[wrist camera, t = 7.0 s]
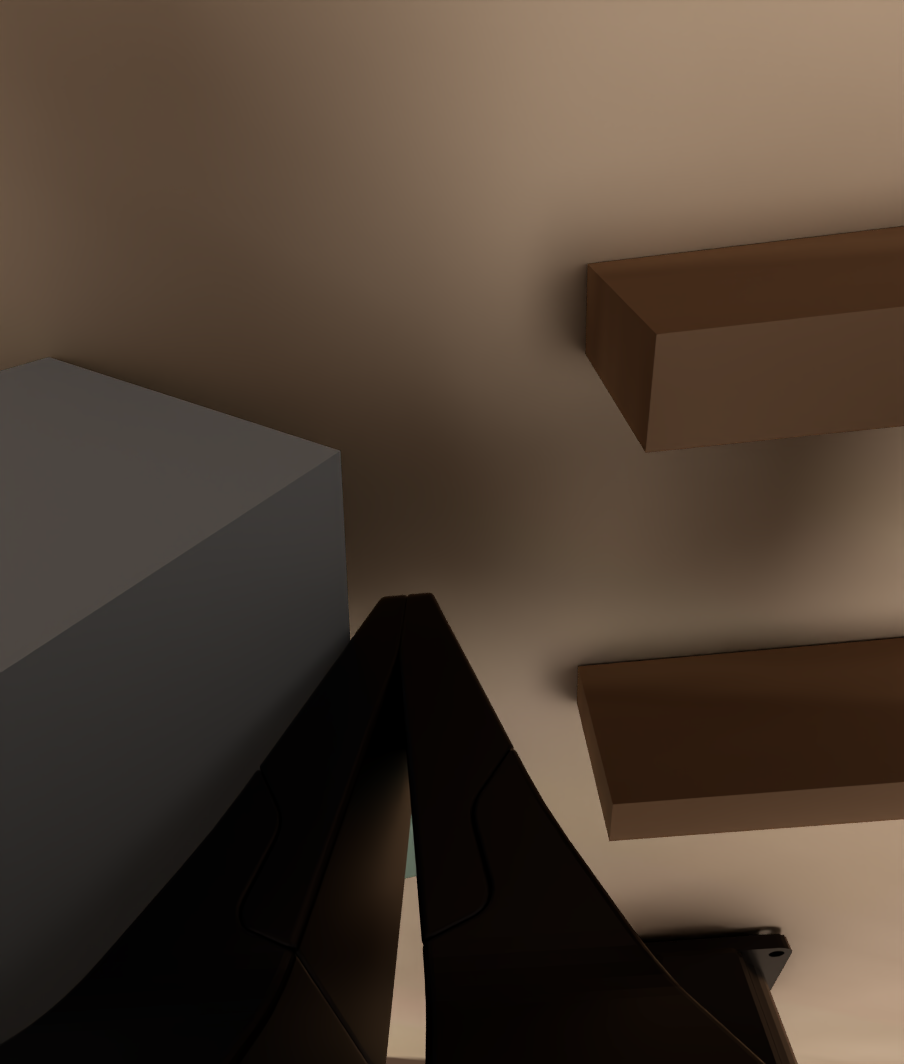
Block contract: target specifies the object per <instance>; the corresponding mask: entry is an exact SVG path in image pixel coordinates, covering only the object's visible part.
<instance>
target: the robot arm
mask: <svg viewBox="0 0 904 1064" xmlns="http://www.w3.org/2000/svg"><path fill="white" fill-rule="evenodd" d="M260 770H261V771H260ZM260 770H257V771H256V772H255V773H254V774H253V776H252V777H251V778H250V780H249V781H248V783H247V784H246V785H245V787H244V788H243V789H242V791H241V792H240V794H239V795H238V796H237V798H236V799H235V800H234V801H233V803H232V804H231V805H230V807H229V808H228V809H227V811H226V812H225V813H224V815H223V816H222V817H221V819H220V820H219V821H218V823H217V824H216V825H215V826H214V828H213V829H212V830H211V831H210V833H209V834H208V835H207V836H206V837H205V839H204V840H203V841H202V842H201V843H200V845H199V846H198V847H197V848H196V849H195V851H194V852H193V853H192V854H191V855H190V857H189V858H188V859H187V860H186V861H185V863H184V864H183V865H182V866H181V867H180V868H179V870H178V871H177V872H176V873H175V874H174V875H173V877H172V878H171V879H170V880H169V881H168V882H167V883H166V885H165V886H164V887H163V888H162V889H161V890H160V891H159V893H158V894H157V895H156V896H155V897H154V898H153V899H152V901H151V902H150V903H149V904H148V905H147V906H146V907H145V909H144V910H143V911H142V912H141V913H140V914H139V916H138V917H137V918H136V919H135V920H134V921H133V922H132V924H131V925H130V926H129V927H128V928H127V929H126V930H125V932H124V933H123V934H122V935H121V936H120V937H119V938H118V940H117V941H116V942H115V943H114V944H113V945H112V946H111V948H110V949H109V950H108V951H107V952H106V953H105V955H104V956H103V957H102V958H101V959H100V960H99V961H98V963H97V964H96V965H95V966H94V967H93V968H92V969H91V970H90V971H89V972H88V973H87V974H86V976H85V977H84V978H83V979H82V980H81V981H80V982H79V983H78V984H77V985H76V986H75V987H74V988H73V989H72V990H71V991H70V992H69V993H68V994H66V995H65V996H64V997H63V998H62V999H61V1000H60V1001H59V1002H58V1003H56V1004H55V1005H54V1006H53V1007H52V1008H51V1009H49V1010H48V1011H47V1012H46V1013H45V1014H43V1015H42V1016H41V1017H39V1018H38V1019H37V1020H36V1021H34V1022H33V1023H32V1024H30V1025H29V1026H28V1027H26V1028H25V1029H23V1030H22V1031H20V1032H19V1033H17V1034H16V1035H14V1036H13V1037H11V1038H9V1039H8V1040H6V1041H5V1042H3V1043H2V1044H0V1064H386V1056H387V1047H388V1037H389V1027H390V1017H391V1008H392V998H393V988H394V978H395V969H396V959H397V949H398V939H399V929H400V920H401V910H402V900H403V890H404V881H405V871H406V861H407V851H408V842H409V832H410V822H411V815H412V827H413V839H414V851H415V863H416V876H417V888H418V900H419V912H420V924H421V936H422V942H423V945H424V946H423V960H424V975H425V996H426V1063H425V1064H798V1063H797V1061H796V1058H795V1055H794V1053H793V1050H792V1047H791V1045H790V1042H789V1039H788V1037H787V1034H786V1032H785V1029H784V1026H783V1024H782V1021H781V1018H780V1016H779V1013H778V1010H777V1008H776V1005H775V1002H774V1000H773V997H772V994H771V992H770V990H771V988H772V987H773V985H774V983H775V981H776V980H777V978H778V976H779V974H780V973H781V971H782V969H783V967H784V966H785V964H786V962H787V960H788V959H789V957H790V955H791V953H792V950H791V948H790V945H789V943H788V941H787V938H786V937H785V936H784V935H780V934H770V935H755V936H740V937H725V938H710V939H695V940H680V941H665V942H650V943H643V942H642V940H641V939H640V938H639V936H638V935H637V934H636V932H635V931H634V930H633V928H632V927H631V926H630V924H629V923H628V921H627V920H626V919H625V917H624V916H623V914H622V913H621V912H620V910H619V909H618V907H617V906H616V905H615V903H614V902H613V900H612V899H611V898H610V896H609V895H608V893H607V892H606V891H605V889H604V888H603V886H602V885H601V884H600V882H599V881H598V879H597V878H596V877H595V875H594V874H593V872H592V871H591V870H590V868H589V867H588V865H587V864H586V863H585V861H584V860H583V858H582V857H581V856H580V854H579V853H578V851H577V850H576V849H575V847H574V846H573V844H572V843H571V842H570V840H569V839H568V837H567V836H566V834H565V833H564V831H563V830H562V828H561V827H560V825H559V824H558V822H557V821H556V819H555V818H554V816H553V815H552V813H551V812H550V810H549V809H548V807H547V806H546V804H545V802H544V801H543V799H542V797H541V795H540V794H539V792H538V790H537V788H536V787H535V785H534V783H533V781H532V780H531V778H530V776H529V775H528V773H527V771H526V769H525V767H524V765H523V763H522V761H521V760H520V758H519V756H518V754H517V752H516V751H515V750H514V749H513V745H512V743H511V741H510V739H509V737H508V736H507V734H506V732H505V730H504V728H503V726H502V724H501V722H500V720H499V718H498V717H497V715H496V713H495V711H494V709H493V707H492V705H491V703H490V701H489V699H488V698H487V696H486V694H485V692H484V690H483V688H482V686H481V684H480V682H479V680H478V679H477V677H476V675H475V673H474V671H473V669H472V667H471V665H470V663H469V661H468V660H467V658H466V656H465V654H464V652H463V650H462V648H461V646H460V644H459V642H458V640H457V639H456V637H455V635H454V633H453V631H452V629H451V627H450V625H449V623H448V621H447V620H446V618H445V616H444V614H443V612H442V610H441V608H440V606H439V604H438V602H437V601H436V599H435V597H434V595H433V594H432V593H418V594H410V595H408V596H406V595H397V596H386V597H383V598H381V599H380V600H379V602H378V603H377V604H376V606H375V607H374V609H373V610H372V611H371V613H370V614H369V615H368V617H367V618H366V620H365V621H364V622H363V624H362V625H361V627H360V628H359V629H358V631H357V632H356V633H355V635H354V636H353V638H352V639H351V640H350V642H349V643H348V645H347V646H346V647H345V649H344V650H343V651H342V653H341V654H340V656H339V657H338V658H337V660H336V661H335V663H334V664H333V665H332V667H331V668H330V669H329V671H328V672H327V674H326V675H325V676H324V678H323V679H322V681H321V682H320V683H319V685H318V686H317V687H316V689H315V690H314V692H313V693H312V694H311V696H310V697H309V699H308V700H307V701H306V703H305V704H304V705H303V707H302V708H301V710H300V711H299V712H298V714H297V715H296V717H295V718H294V719H293V721H292V722H291V723H290V725H289V726H288V728H287V729H286V730H285V732H284V733H283V735H282V736H281V737H280V739H279V740H278V741H277V743H276V744H275V746H274V747H273V748H272V750H271V751H270V753H269V754H268V755H267V757H266V758H265V759H264V761H263V762H262V764H261V765H260Z"/></svg>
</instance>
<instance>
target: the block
mask: <svg viewBox="0 0 904 1064" xmlns="http://www.w3.org/2000/svg"><path fill="white" fill-rule="evenodd" d="M349 642H350V629H349V609H348V589H347V569H346V549H345V529H344V510H343V490H342V470H341V451H340V450H337V449H334V448H331V447H327V446H324V445H321V444H318V443H315V442H312V441H309V440H306V439H303V438H299V437H296V436H293V435H290V434H287V433H284V432H281V431H278V430H275V429H271V428H268V427H265V426H262V425H259V424H256V423H253V422H250V421H246V420H243V419H240V418H237V417H234V416H231V415H228V414H225V413H222V412H218V411H215V410H212V409H209V408H206V407H203V406H200V405H197V404H194V403H190V402H187V401H184V400H181V399H178V398H175V397H172V396H169V395H166V394H162V393H159V392H156V391H153V390H150V389H147V388H144V387H141V386H138V385H134V384H131V383H128V382H125V381H122V380H119V379H116V378H113V377H110V376H106V375H103V374H100V373H97V372H94V371H91V370H88V369H85V368H81V367H78V366H75V365H72V364H69V363H66V362H63V361H60V360H57V359H53V358H50V357H47V358H44V359H40V360H37V361H33V362H30V363H26V364H23V365H19V366H16V367H12V368H8V369H5V370H1V371H0V1044H2V1043H3V1042H5V1041H6V1040H8V1039H9V1038H11V1037H13V1036H14V1035H16V1034H17V1033H19V1032H20V1031H22V1030H23V1029H25V1028H26V1027H28V1026H29V1025H30V1024H32V1023H33V1022H34V1021H36V1020H37V1019H38V1018H39V1017H41V1016H42V1015H43V1014H45V1013H46V1012H47V1011H48V1010H49V1009H51V1008H52V1007H53V1006H54V1005H55V1004H56V1003H58V1002H59V1001H60V1000H61V999H62V998H63V997H64V996H65V995H66V994H68V993H69V992H70V991H71V990H72V989H73V988H74V987H75V986H76V985H77V984H78V983H79V982H80V981H81V980H82V979H83V978H84V977H85V976H86V974H87V973H88V972H89V971H90V970H91V969H92V968H93V967H94V966H95V965H96V964H97V963H98V961H99V960H100V959H101V958H102V957H103V956H104V955H105V953H106V952H107V951H108V950H109V949H110V948H111V946H112V945H113V944H114V943H115V942H116V941H117V940H118V938H119V937H120V936H121V935H122V934H123V933H124V932H125V930H126V929H127V928H128V927H129V926H130V925H131V924H132V922H133V921H134V920H135V919H136V918H137V917H138V916H139V914H140V913H141V912H142V911H143V910H144V909H145V907H146V906H147V905H148V904H149V903H150V902H151V901H152V899H153V898H154V897H155V896H156V895H157V894H158V893H159V891H160V890H161V889H162V888H163V887H164V886H165V885H166V883H167V882H168V881H169V880H170V879H171V878H172V877H173V875H174V874H175V873H176V872H177V871H178V870H179V868H180V867H181V866H182V865H183V864H184V863H185V861H186V860H187V859H188V858H189V857H190V855H191V854H192V853H193V852H194V851H195V849H196V848H197V847H198V846H199V845H200V843H201V842H202V841H203V840H204V839H205V837H206V836H207V835H208V834H209V833H210V831H211V830H212V829H213V828H214V826H215V825H216V824H217V823H218V821H219V820H220V819H221V817H222V816H223V815H224V813H225V812H226V811H227V809H228V808H229V807H230V805H231V804H232V803H233V801H234V800H235V799H236V798H237V796H238V795H239V794H240V792H241V791H242V789H243V788H244V787H245V785H246V784H247V783H248V781H249V780H250V778H251V777H252V776H253V774H254V773H255V772H256V771H257V770H260V765H261V764H262V762H263V761H264V759H265V758H266V757H267V755H268V754H269V753H270V751H271V750H272V748H273V747H274V746H275V744H276V743H277V741H278V740H279V739H280V737H281V736H282V735H283V733H284V732H285V730H286V729H287V728H288V726H289V725H290V723H291V722H292V721H293V719H294V718H295V717H296V715H297V714H298V712H299V711H300V710H301V708H302V707H303V705H304V704H305V703H306V701H307V700H308V699H309V697H310V696H311V694H312V693H313V692H314V690H315V689H316V687H317V686H318V685H319V683H320V682H321V681H322V679H323V678H324V676H325V675H326V674H327V672H328V671H329V669H330V668H331V667H332V665H333V664H334V663H335V661H336V660H337V658H338V657H339V656H340V654H341V653H342V651H343V650H344V649H345V647H346V646H347V645H348V643H349ZM260 771H261V770H260Z"/></svg>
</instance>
